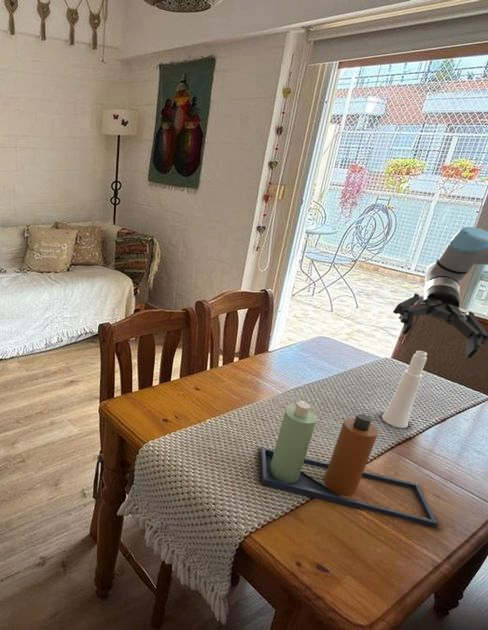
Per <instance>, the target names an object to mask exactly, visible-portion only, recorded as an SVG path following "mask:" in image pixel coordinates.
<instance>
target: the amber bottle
mask: <svg viewBox="0 0 488 630" xmlns="http://www.w3.org/2000/svg"><path fill="white" fill-rule="evenodd" d="M372 420H373V419H372V417H371V416H370V415H367V414H365V413H359V412H358V413H357V414H356V416H355V417H348V418H345V419H344V420H343V422H342V425H341V428H340V431H339V434H338V436H337V440H336V443H335V446H334V449H333V452H332V455H331V457H330V460H329V462H328V463H329V466H328V468H326V469H327V470H326V471H325V472H326V473H325V475H324V478H323V482H324V485H325V486H326V488H327V489H328V490H329V491H331V492H332V493H334V494H336V495H338V496H344V497H350V496H354V495H355V494H356V492H357V490H358V487H359V484H360V481H361V480H362V478H363V477H362V474H363V471H365V469H366V465H367V463H368V461H369V459H370V456H371V453H372V452H373V451H372V450H373V448H374V445H375V442H376V440H377V438H378V435H379V430H378V428H377V427H376V426H375V425H374V424H372Z"/></svg>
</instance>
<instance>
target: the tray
mask: <svg viewBox="0 0 488 630" xmlns="http://www.w3.org/2000/svg"><path fill="white" fill-rule="evenodd" d="M274 450H275V449H271V448H268V447H263V446H262V447H260V451H259V453H260V455H259V456H260V472H261V473H260V474H261V475H260V476H261V485H262V486H265V487H270V488H274V489H277V490H282V491H285V492H289V493H292V494H296V495H301V496H305V497H308V498H311V499H316V500H320V501H324V502H328V503H332V504H336V505H340V506H343V507H347V508H351V509H355V510H358V511H362V512H365V511H371V512H373V513H374V512H375V513H379V514H382V515H386V516H389V517H393V518H397V519H401V520H404V521H409V522H413V523H416V524H420V525H425V526H428V527H432V528H438V525H439V523H438V521H437V519H436V517H435V515H434V512H433V510H432V508H431V507H430V505H429V503H428V501H427V499H426V496H425V495H424V492H423V490H422V489H421V486H420V484H419V483H415V482H412V481H407V480H403V479H399V478H394V477H390V476H386V475H382V474H378V473H374V472H369V471H365V470H364V471H363V474H362V477H361V478H367V479H369V480H370V479H371V480H375V481H378V482H383V483H387V484H391V485H396V486H400V487H404V488H408V489H412V490H413V491H414V493H415V495H416V497H417V500H418V501H419V503H420V505H421V507H422V509H423V511H424V513H425V516H426V517H423V516H419V515H415V514H411V513H407V512H404V511H400V510H396V509H393V508H392V509H391V508H388V507H384V506H380V505H376V504H372V503H369V502H365V501H360V500H356V499H353V498H349V497H346V496H342V495H340V496H338V495H339V494H338V495H336V494H334V493H332V492H331V491H329V490H328V489H327V488H328V487H327V486H326V485H325V484H322V483H321V482H319V481H317V480H316V479H314V478H313V477H311V476H310V475H308V474H306V473H304V472H303V471H302V470H301V472H300V476H299V479H298V481H296V482H294V483H286V482H283V481H280V480H278V479H277V478H275V477H274V476H273V475H272V474H271V472H270V465H271V461H272V458H273V454H274ZM329 463H330V462H327V461H322V460H318V459H316V458H315V459H314V458H310V457H306V456H305V459H304V463H303V464H308V465H311V466H316V467H320V468H324V469H328V466H329ZM326 487H327V488H326Z"/></svg>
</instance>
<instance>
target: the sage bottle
mask: <svg viewBox="0 0 488 630" xmlns="http://www.w3.org/2000/svg"><path fill="white" fill-rule="evenodd" d="M311 408H312V407H311V404H310V403H308V402H306V401H300V400H299V401H297V402H296V404H295V405H291V406H288V407H286V408H285V410H284V414H283V418H282V421H281V425H280V428H279V432H278V435H277V440H276V442H275V443H276V444H275V447H274V449H273V450H274V454H273V458H272V461H271V465H270V472H271V474H272V475H273V476H274V477H275V478H277V479H278V480H280V481H283V482H286V483H294V482H296V481H298V479H299V476H300V472H301V471H302V469H303V465H304V464H305V463H304V459H305V457H306V456H307V453H308V450H309V447H310V443H311V440H312V436H313V433H314V430H315V427H316V424H317V421H318V417H317V415H316V414H315V413H314V412H313V411H311Z"/></svg>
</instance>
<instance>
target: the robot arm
mask: <svg viewBox="0 0 488 630" xmlns="http://www.w3.org/2000/svg"><path fill="white" fill-rule="evenodd" d="M474 265H478V266H481V265H482V266H488V231H487V230H485V229H482V228H480V227H478V228H477V227H475V226H465V227H462V228H460V229H459V230H458V231H457V232H456V234H455V235H454V236H453V237H452V238H451V239H450V240H449V242H448V244H447V245H446V247H445V249H444V250H443V252H442V253H441V254H440V255H439V257H438V259H437V260H436V261H434V262H432V263H430V264H429V265H428V267H427V269H426V271H425V274H424V289H423V298H421V297H420V294H418V293H413V294H412V296H411V297H409V298H408V299H406V300H404V301H402V302H400V303H398V304H397V305H396V307H394V309H393V311H392V313H393V314H395V315H399V317H398V320H400V323H402V324H403V328H402V334H403V335H407V334H408V333H409V332H410V330H411V329H412V328H413V324H414V323H413V322H414V317H417V316H428V315H431V317H434V318H438V319H440V320H443V321H445V323H447V324H448V325H450V326H452V327H454V328H455V329H456V330H458V331H459V332H460V333H461V334H462V335H463V336H464V337H465V338H466V339H467V340H466V341H465V342H466V346H465V347H466V358H469V359H471V358H472V357H473V356H475V354H476V353H477V352H478V351H479V348H480V347H481V346H484V345H485V344H486V343H488V331H487V330H486V329H485V328H484V326H483V325H482V323H480V322H479V321H478V320H477V318H476V316H475V313H474V312H472V311H468V312H467V313H465V312H463V311H461V309H460V304H461V303H460V300H461V299H460V295H461V292H460V289H461V288H460V285H461V284H460V283H461V281H462V280H463V279H464V277H465V276H466V275H467V274H468V273H469V272H470V270H472V268H473V266H474ZM419 304H420V305H419Z"/></svg>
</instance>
